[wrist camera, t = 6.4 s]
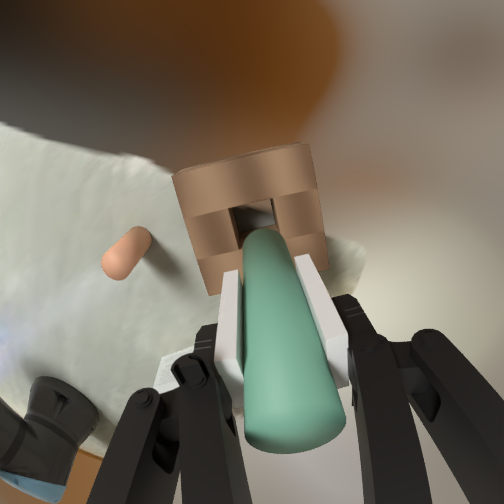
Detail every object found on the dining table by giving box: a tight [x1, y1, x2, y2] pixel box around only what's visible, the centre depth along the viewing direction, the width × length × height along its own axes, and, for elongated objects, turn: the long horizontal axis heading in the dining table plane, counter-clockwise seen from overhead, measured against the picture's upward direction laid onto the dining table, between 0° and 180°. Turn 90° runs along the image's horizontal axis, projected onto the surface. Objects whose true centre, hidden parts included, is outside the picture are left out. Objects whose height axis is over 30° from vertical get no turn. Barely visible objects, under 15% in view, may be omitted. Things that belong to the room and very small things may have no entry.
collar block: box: [171, 143, 329, 296], centre depth 28 cm, size 12×12×5 cm
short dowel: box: [101, 226, 152, 280], centre depth 28 cm, size 3×3×7 cm
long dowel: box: [243, 228, 346, 454], centre depth 14 cm, size 3×3×14 cm
